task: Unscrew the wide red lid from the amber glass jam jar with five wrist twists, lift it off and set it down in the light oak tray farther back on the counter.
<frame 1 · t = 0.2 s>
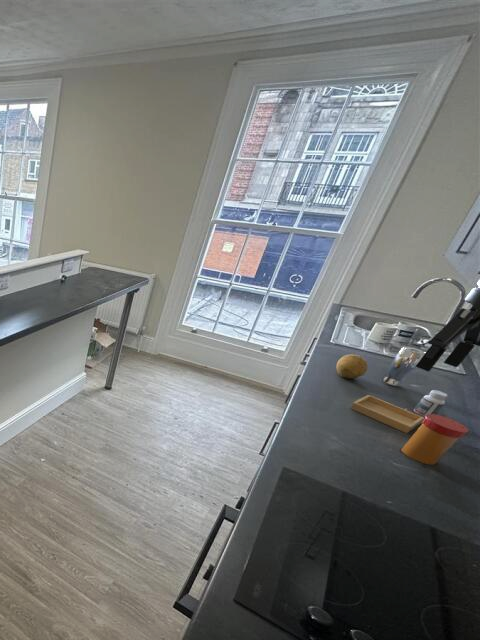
hand: (436, 366, 108), 27 cm above the worktop, tool pointing down, fingers open, 13 cm apart
potato: (344, 376, 164), on the worktop
jam jar: (418, 456, 119), on the worktop
beer glass: (389, 383, 162), on the worktop
lid: (446, 423, 113), point 12 cm above the worktop, screwed on, not yet turned
pill bottle: (422, 414, 142), on the worktop
tray: (384, 415, 138), on the worktop
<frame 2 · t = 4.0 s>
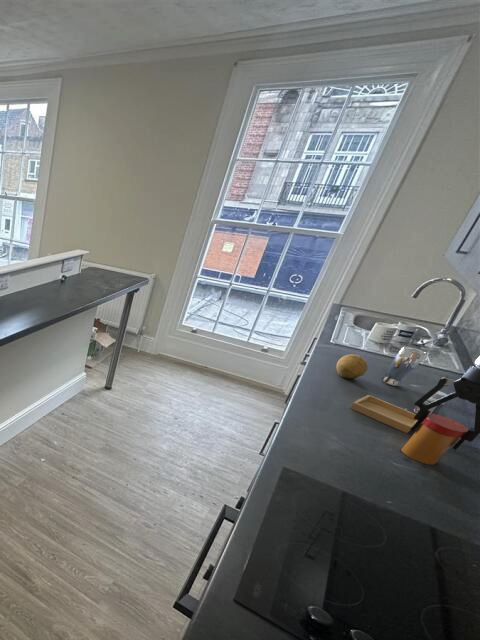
hand: (433, 438, 115), 7 cm above the worktop, tool pointing down, fingers closed on lid, 8 cm apart
lid: (446, 423, 113), point 12 cm above the worktop, screwed on, not yet turned, touching gripper
everything else where it was.
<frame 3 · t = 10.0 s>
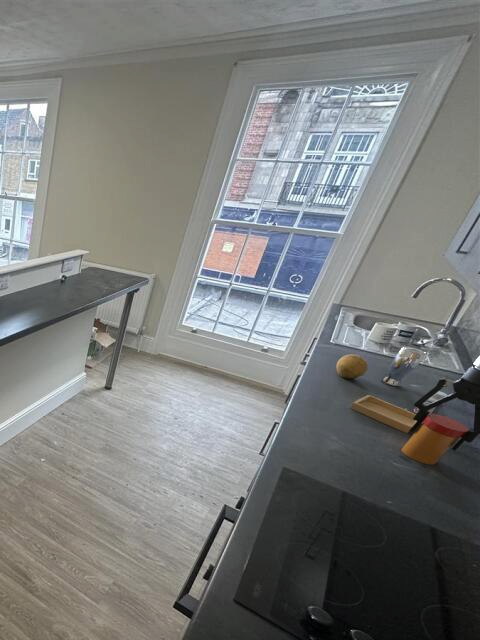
hand: (432, 439, 116), 6 cm above the worktop, tool pointing down, fingers closed on lid, 8 cm apart
lid: (446, 423, 113), point 12 cm above the worktop, turned 90° so far, risen 0.1 cm, still on its thread, touching gripper
everything else where it was.
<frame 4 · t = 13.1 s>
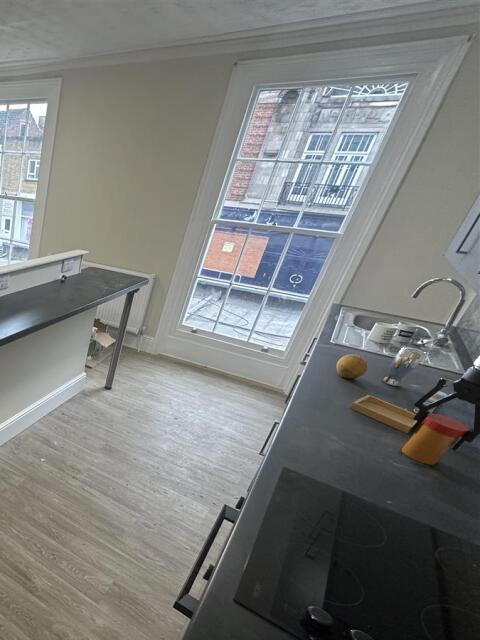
hand: (433, 439, 116), 6 cm above the worktop, tool pointing down, fingers closed on lid, 8 cm apart
lid: (446, 423, 113), point 12 cm above the worktop, turned 179° so far, risen 0.3 cm, still on its thread, touching gripper
everything else where it was.
when the fingers open (2 cm above the worktop, at t = 30.4 s): lid drops 6 cm, resting on tray.
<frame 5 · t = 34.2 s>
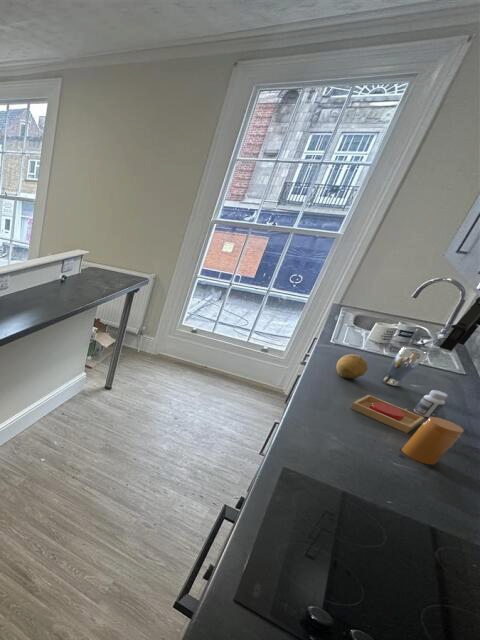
hand: (451, 346, 126), 27 cm above the worktop, tool pointing down, fingers open, 13 cm apart
lid: (387, 409, 137), point 2 cm above the worktop, off its thread, touching tray
everything else where it was.
at the end: lid came off its thread; lid inside the target area on the tray (0.1 cm from its centre), point 2.3 cm above the tray's base; the gripper is holding nothing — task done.
